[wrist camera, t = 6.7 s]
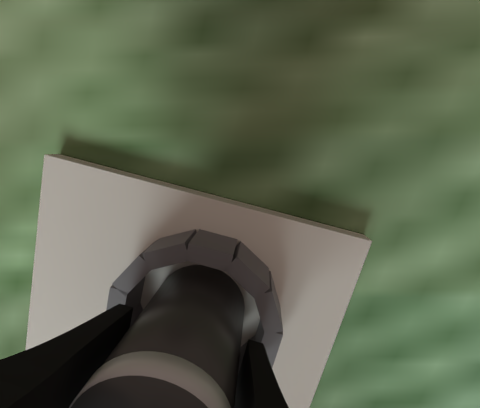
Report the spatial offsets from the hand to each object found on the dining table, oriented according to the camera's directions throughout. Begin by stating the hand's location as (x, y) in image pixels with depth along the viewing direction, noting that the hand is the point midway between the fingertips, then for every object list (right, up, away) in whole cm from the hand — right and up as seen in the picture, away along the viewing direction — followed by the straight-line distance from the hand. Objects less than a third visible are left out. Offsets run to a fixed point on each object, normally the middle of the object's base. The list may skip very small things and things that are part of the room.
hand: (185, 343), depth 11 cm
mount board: (-2, -3, +5) cm, 6 cm away
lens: (0, 0, +3) cm, 3 cm away
